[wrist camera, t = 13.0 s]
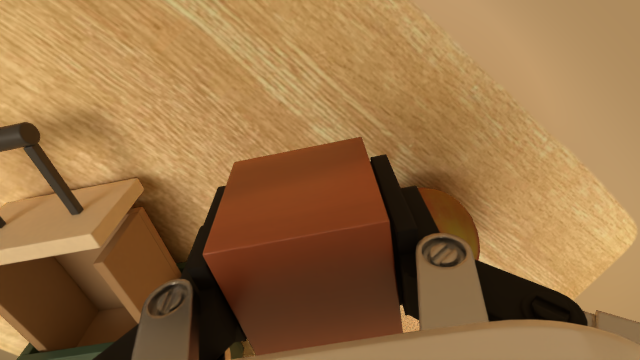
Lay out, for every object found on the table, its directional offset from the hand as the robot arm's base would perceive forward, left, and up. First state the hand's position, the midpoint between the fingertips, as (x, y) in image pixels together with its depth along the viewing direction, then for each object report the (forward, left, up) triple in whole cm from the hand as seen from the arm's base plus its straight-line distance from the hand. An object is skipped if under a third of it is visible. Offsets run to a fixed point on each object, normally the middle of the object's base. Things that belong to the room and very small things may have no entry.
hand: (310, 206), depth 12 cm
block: (0, 0, 0) cm, 0 cm away
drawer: (+7, -20, -13) cm, 25 cm away
